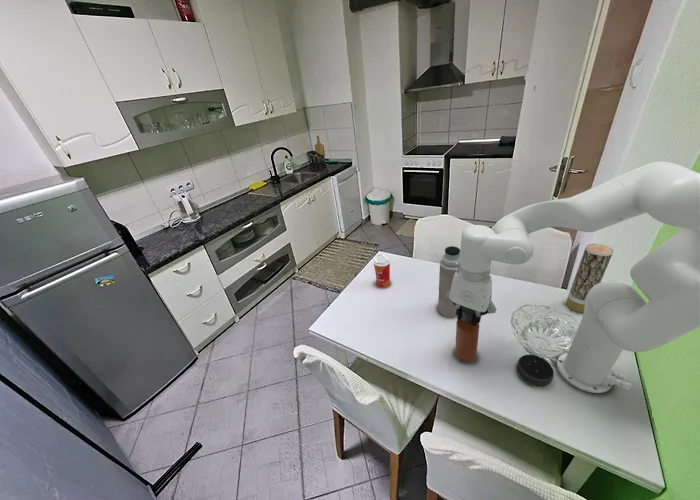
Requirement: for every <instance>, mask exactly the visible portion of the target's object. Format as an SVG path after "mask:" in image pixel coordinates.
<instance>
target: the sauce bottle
mask: <svg viewBox="0 0 700 500" xmlns="http://www.w3.org/2000/svg"><path fill="white" fill-rule="evenodd" d="M455 327H456V328H455V348H454V349H455V351H454V354H455V357H456V359H457V360H458V361H460V362H461V363H466V364H470V363H474V361H476V359H477V353H478V344H479V334H480V323H477V324H476V326H473V322H465V321H463V320H462V318H461V319H460V320H457V319H456V325H455Z"/></svg>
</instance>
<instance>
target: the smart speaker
mask: <svg viewBox="0 0 700 500" xmlns="http://www.w3.org/2000/svg"><path fill="white" fill-rule="evenodd" d="M516 371H517V374H518V376H519V378H521V379H522V381H523V382H525V383H527V384H529V385H530V386H533V387H536V388H537V387H538V388H544V387H548V386H549V385H551V383H552V382H553V379H554V375H555V371H554V368H553V366H552V365H551V364H550V363H549V361H547V360H546V359H544V358H543V357H541V356H538V355H536V354H524V355H522V356H520V357H519V358H518V360H517V364H516Z"/></svg>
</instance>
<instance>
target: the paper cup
mask: <svg viewBox="0 0 700 500" xmlns="http://www.w3.org/2000/svg"><path fill="white" fill-rule="evenodd" d="M372 264H373V266H374V272H375V279H376V285H377V286H378V287H379V288H382V289H385V288H388V287H389V286H390V284H391V283H390V282H391V259H390V257H389V256H388V255H386V254H378V255H376V256H374V257H373V260H372Z"/></svg>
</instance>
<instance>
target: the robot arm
mask: <svg viewBox="0 0 700 500" xmlns="http://www.w3.org/2000/svg"><path fill="white" fill-rule="evenodd" d="M644 214H647V215H649V216H650V217H651V218H653V219H654V220H656V221H658V222H660V223H661V224H665V225H668V226H671V227H677V228H680V229H679V230H677V232H675V233H674V234H673V235H672V236H670V237H669V238H668V239H666V240H665V241H664V242H662V243H661V244H660V245H658V246H657V247H656V248H654V249H653V250H652V251H650V252H649V253H647V254H646V255H645V256H644V257H642V258H640V259H639V260H638V261H637V262H636V263H635V264H634V265H633V266H632V267H631V269H630V271H629V275H630V278H631V281H633V283H634V284H635V285H636V287H637V288H638V289H639V290H640V291H641V293H642V294H643V295H644V296H645V298H647V300H648V301H646V300H645V299H644V298H643V297H642V295H641V294H640V293H639V292H638V291H637V290H636V289H635V288H634V287H632V286H631V285H629V284H627V283H625V282H623V281H619V280H603V281H601V282H600V283H598V284H596V285H595V286H593V287H592V288H591V289H590V291H589V292H588V294H587V297H586V301H585V307H584V312H582V313H583V314H582V317H581V320H580V323H579V325H578V327H577V329H576V332H575V335H574V337H573V340H572V342H571V344H570V346H569V349H568V351H567V352H564V353H562V354H560V355H559V356H558V358H557V360H556V368H557V370H558V373H559V374H560V375H561V377H562V378H563V379H564V380H565V381H566V382H568V383H569V384H570V385H572V386H573V387H575V388H577V389H579V390H581V391H583V392H587V393H593V394H603V393H606V392H608V391H609V390H610V389H611V388H612V386H617V387H619V388H621V389H623V390H626V391H628V392H630V391H631V389H632V383H630V382H627V381H625V379H626V378H625V377H626V375H625V374H622V373H619V372H616V371H614V370H613V368H614V366H615V364H616V363H617V361H618V359H619V357H620V356H621V354H622V352H623V350H624V351H626V352H631V353H643V352H644V353H645V352H648V351H652V350H655V349H658V348H661V347H663V346H664V345H667V344H669V343H670V342H672V341H675V340H677V339H679V338H680V337H683V336H685V335H686V334H688V333H691V332H692V331H694V330H696V329H697V328H700V173H699V172H696V171H695V170H692V169H690V168H688V167H686V166H682V165H680V164H677V163H674V162H671V161H653V162H649V163H647V164H644V165H642V166H639V167H637V168H634V169H632V170H630V171H627V172H625V173H623V174H621V175H618V176H616V177H614V178H612V179H609V180H608V181H605V182H602V183H601V184H598V185H596V186H594V187H592V188H589V189H587V190H585V191H582V192H580V193H578V194H576V195H575V194H574V195H573V196H570V197H566V198H558V199H551V200H546V201H541V202H536V203H532V204H529V205H526V206H524V207H521V208H519V209H517V210H515V211H513V212H511V213H508V214H507V215H504V216H503V217H501V218H500V219H499V220H497V221H496V222H495V223H494V225H493V227H492V228H491V227H489V226H487V225H482V224H473V225H469V226H466V227H464V229H463V230H462V232H461V239H460V248H459V249H460V261H459V262H456V261H455V262H454V266H456V267H457V268H458V270H457V271H456V272H455V274H454V277H453V281H452V286H451V290H450V291H448V292H447V294H446V296H447V297H448V298H449V299H450V300H451V301H452V303H453V304H454V305H455V308H456V315H457V316H456V321H457V320H460V319H461V309H462V306H464V307H467V308H470V309H473V310H475V311H476V314H475V315H474V318H473V326H476V324H477V323H479V324H480V323H481V320H482V316H486V315H488V314H496V312H497V310H498V309H497V307H496V306H495V304H494V302H493V300H492V298H493V297H492V296H493V279H492V276H491V274H490V273H491V272H490V271H491V267H492V266H491V265H492V261H494V262H499V263H502V264H505V265H506V264H508V265H523V264H525V263H527V262H529V261H530V260H531V259H532V257H533V255H534V245H533V243H532V241H531V238H530V236H529V234H532V233H535V232H538V231H540V230H544V229H548V228H564V229H570V230H574V231H578V232H583V233H594V232H597V231H600V230H603V229H606V228H608V227H610V226H614V225H616V224H620V223H622V222H624V221H627V220H630V219H632V218H633V219H634V218H635V217H638V216H640V215H644Z"/></svg>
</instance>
